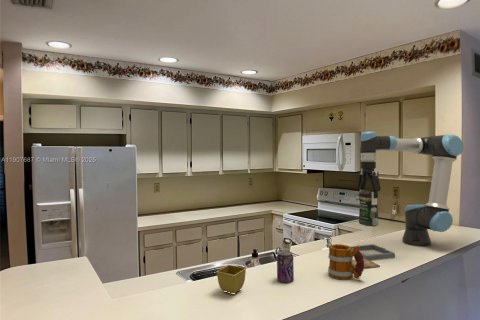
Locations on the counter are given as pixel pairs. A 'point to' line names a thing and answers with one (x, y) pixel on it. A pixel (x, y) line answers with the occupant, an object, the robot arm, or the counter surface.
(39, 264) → the counter surface
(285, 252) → the beverage can
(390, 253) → the grey square shallow frame
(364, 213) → the coffee jar
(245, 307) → the counter surface
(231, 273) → the flower pot
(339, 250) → the mug
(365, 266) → the pad
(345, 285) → the counter surface
